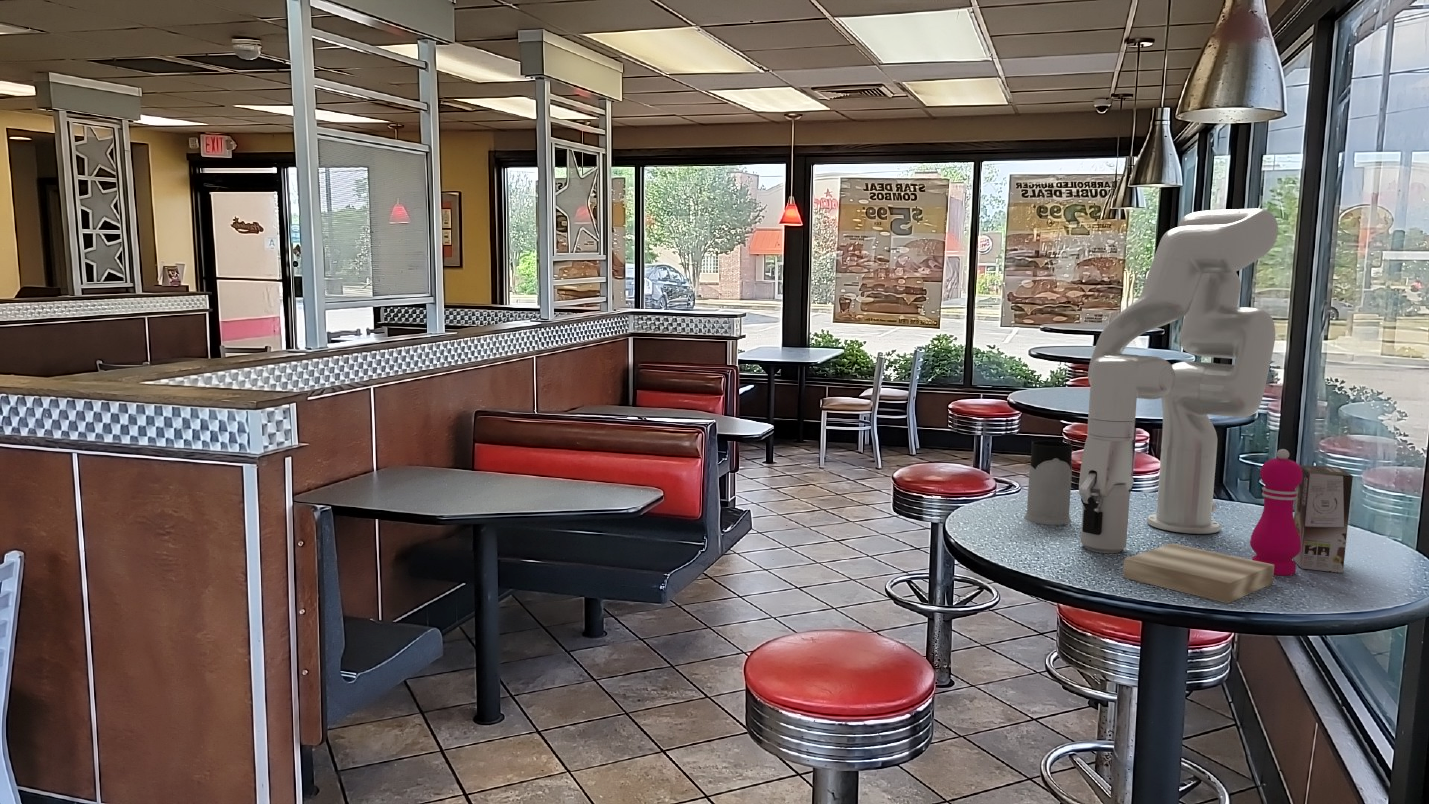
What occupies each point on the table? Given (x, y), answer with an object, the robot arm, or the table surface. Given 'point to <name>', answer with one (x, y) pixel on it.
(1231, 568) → the plinth
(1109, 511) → the can
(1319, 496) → the coffee box
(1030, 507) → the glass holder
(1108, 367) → the robot arm
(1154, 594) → the table surface
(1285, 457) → the pepper mill
